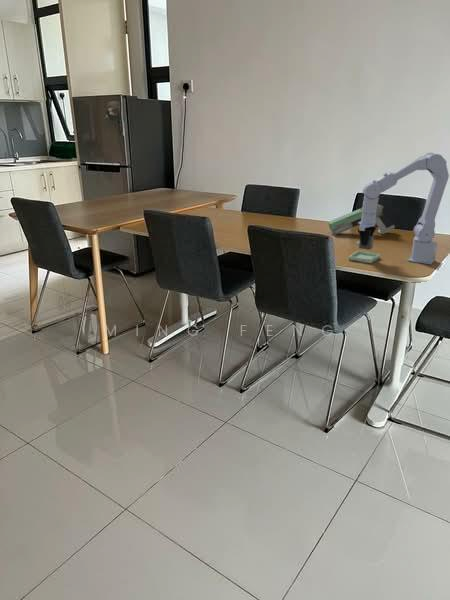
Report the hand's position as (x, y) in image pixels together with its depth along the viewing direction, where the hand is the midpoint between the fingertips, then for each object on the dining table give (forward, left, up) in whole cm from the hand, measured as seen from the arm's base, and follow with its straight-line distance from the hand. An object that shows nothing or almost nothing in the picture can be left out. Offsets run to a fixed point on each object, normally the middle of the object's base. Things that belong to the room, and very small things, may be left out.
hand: (365, 244), depth 195 cm
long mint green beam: (+18, -46, -7) cm, 50 cm away
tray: (0, 0, -7) cm, 7 cm away
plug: (0, 0, -2) cm, 2 cm away
